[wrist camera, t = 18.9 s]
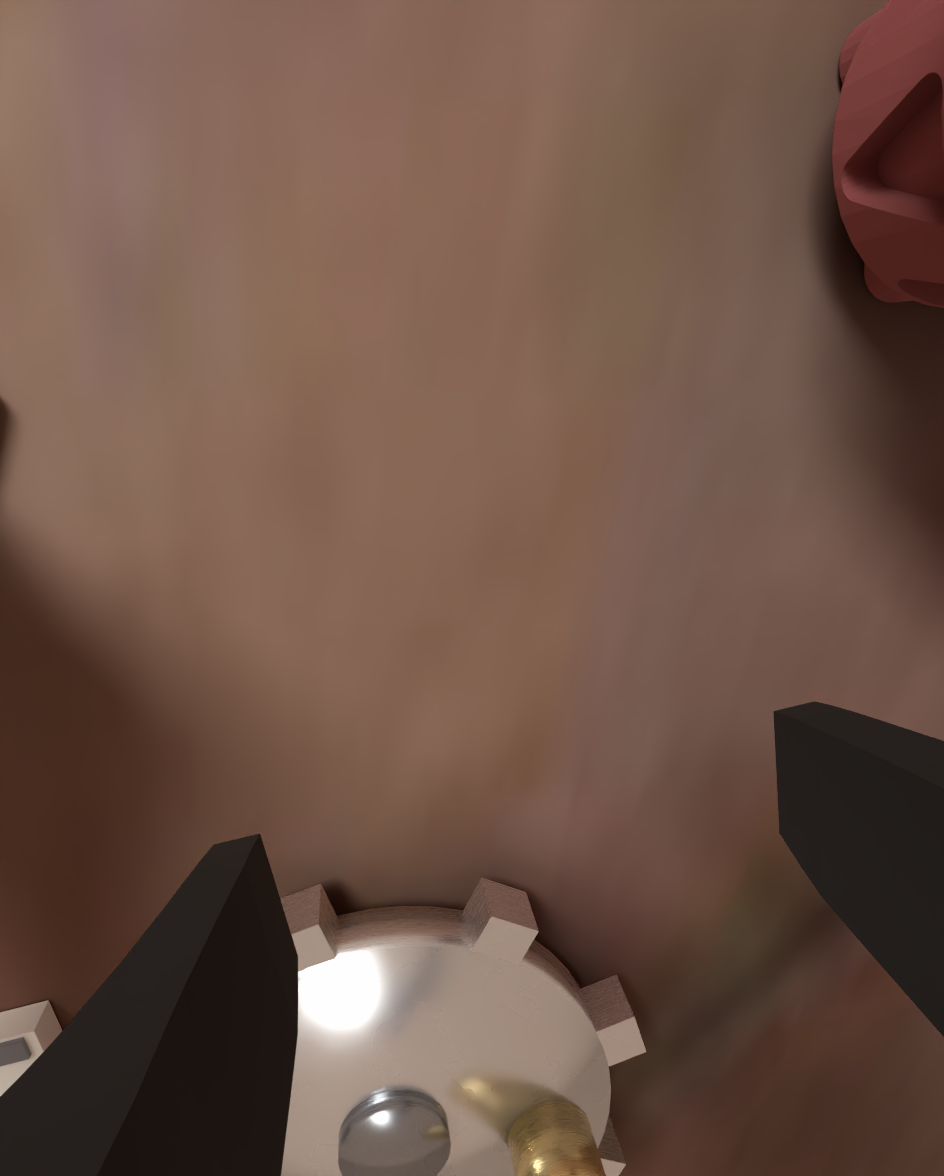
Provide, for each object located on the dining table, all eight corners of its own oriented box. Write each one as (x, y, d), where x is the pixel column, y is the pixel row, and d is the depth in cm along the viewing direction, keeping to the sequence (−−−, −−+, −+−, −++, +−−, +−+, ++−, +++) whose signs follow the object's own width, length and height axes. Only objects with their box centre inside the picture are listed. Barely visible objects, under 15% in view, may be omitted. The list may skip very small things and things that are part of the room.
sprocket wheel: (26, 994, 19) (-65, 1174, 15) (555, 794, 20) (610, 913, 16) (254, 1321, 24) (234, 1527, 20) (676, 1150, 25) (743, 1315, 21)
